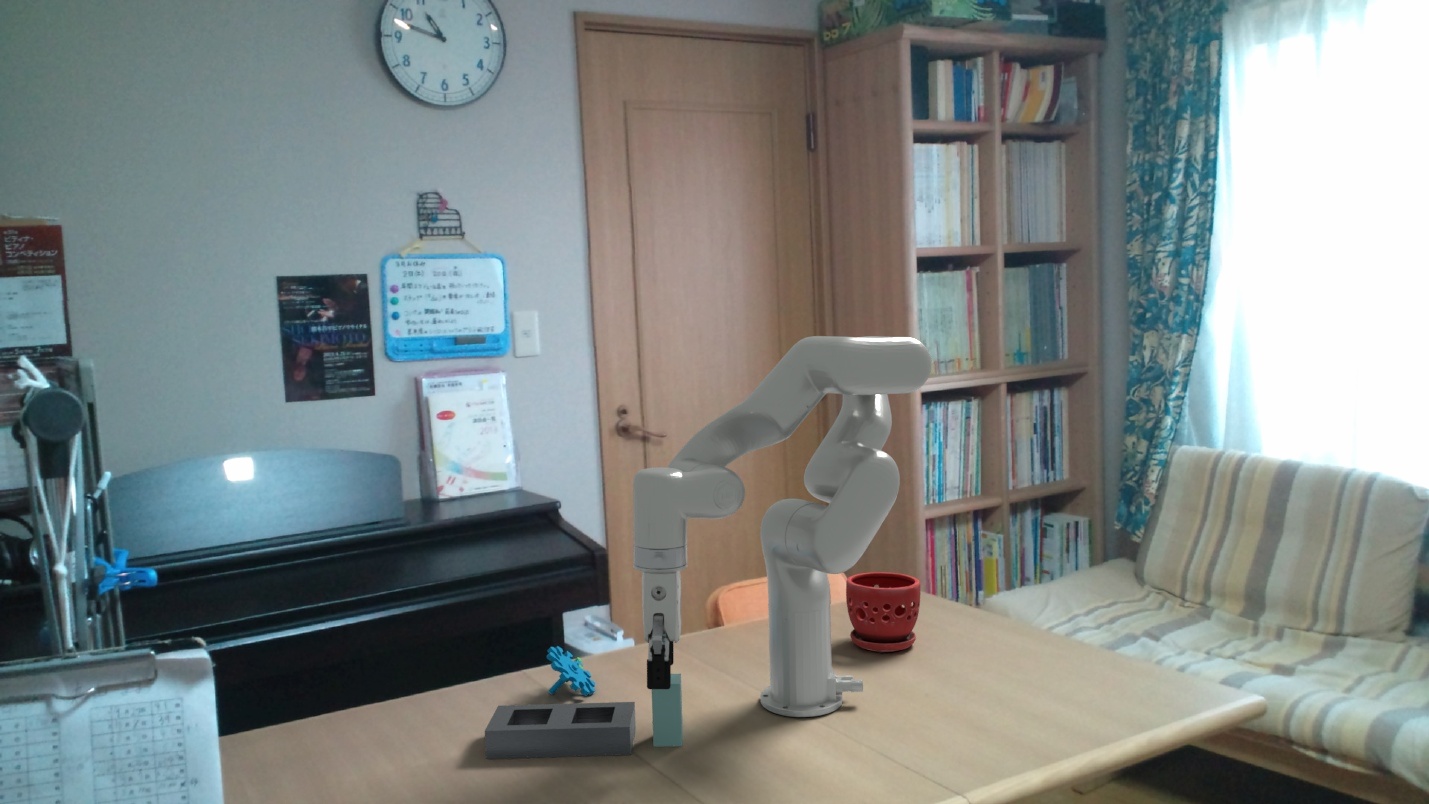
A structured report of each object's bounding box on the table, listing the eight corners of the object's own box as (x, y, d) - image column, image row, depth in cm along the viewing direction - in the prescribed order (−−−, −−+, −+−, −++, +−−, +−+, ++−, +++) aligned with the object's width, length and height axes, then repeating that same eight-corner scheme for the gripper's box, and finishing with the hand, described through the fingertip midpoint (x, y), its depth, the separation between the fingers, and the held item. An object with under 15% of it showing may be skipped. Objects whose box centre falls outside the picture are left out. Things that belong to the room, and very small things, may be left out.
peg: (682, 734, 149) (680, 673, 148) (682, 746, 145) (680, 683, 144) (655, 734, 149) (653, 674, 148) (653, 746, 145) (651, 684, 144)
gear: (589, 696, 160) (545, 649, 161) (563, 723, 160) (519, 676, 161) (606, 680, 171) (564, 636, 172) (581, 705, 171) (540, 661, 172)
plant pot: (927, 655, 178) (926, 587, 177) (851, 657, 178) (850, 589, 177) (914, 631, 191) (913, 568, 190) (843, 633, 191) (842, 570, 190)
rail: (635, 728, 151) (634, 701, 151) (630, 754, 142) (629, 726, 142) (499, 732, 151) (498, 705, 151) (486, 759, 142) (484, 731, 142)
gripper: (685, 571, 135) (685, 698, 137) (688, 543, 153) (688, 656, 154) (628, 571, 135) (629, 698, 137) (638, 543, 153) (638, 656, 154)
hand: (660, 676), depth 145 cm, fingers open, 9 cm apart
